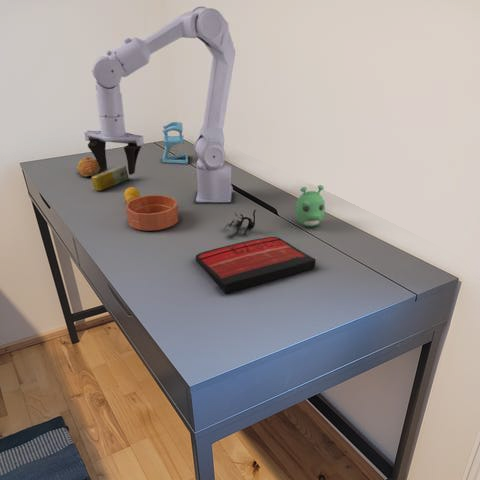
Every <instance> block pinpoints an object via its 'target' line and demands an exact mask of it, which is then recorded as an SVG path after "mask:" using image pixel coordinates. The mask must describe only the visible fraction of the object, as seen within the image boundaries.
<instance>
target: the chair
mask: <svg viewBox="0 0 480 480" xmlns="http://www.w3.org/2000/svg"><path fill="white" fill-rule="evenodd" d="M162 128H163V129H162V133H163V135H164V136H163V145H164V146H165V147H164V151H163V155H162V163H165V164H167V163H168V164H169V163H171V164H183V165H184V164H185V165H188V164H189V155H188V153H181V154H175V155H169V154H170V151H171V149H172V147H174V146H177V145H184V144H185V137H184V135H183V123H182V122H180V121H171V122H170V123H168V124H166V125H163V126H162ZM172 131H175V132H178V135H173V136H172V135H169V134H168V132H172ZM182 158H185V159H182Z"/></svg>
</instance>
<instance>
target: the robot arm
mask: <svg viewBox="0 0 480 480" xmlns="http://www.w3.org/2000/svg"><path fill="white" fill-rule="evenodd" d="M182 38H186V39H198V40H200V41H201V42H202V43H203V44H204V45H205V47H206V49H207V50H208V51H209V53H210V54H211V56H212V60H211V66H210V67H211V68H210V74H209V82H208V87H207V95H206V103H205V110H204V115H203V123H202V125H201V127H200V129H199V132H198V133H199V134H198V137H197V139H195V142H194V145H193V151H194V153H195V155H196V156H197V157H198V159H197V162H196V178H197V179H196V180H197V181H196V182H197V194H196V198H195V203H231V202H232V195H233V192H234V191H233V189H234V188H233V185H232V165H231V164H225V163H224V162H225V160H226V151H225V135H224V126H225V125H224V124H225V118H226V112H227V107H228V101H229V100H228V99H229V94H230V87H231V82H232V76H233V69H234V63H235V57H236V49H235V46H234V42H233V39H232V37H231V32H230V28H229V22H228V21H227V20H226V19H225V17H224V16H223V14H222V13H221V12H220V11H219V10H218V9H216V8H212V7H205V6H197V7H195V8H193V9H192V10H189V11H186V12H183V13H182V14H180V15H178V16H176V17H175V18H173V19H172V20H171V21H169V22H168V23H166V24H165V25H163V26H161V27H160V28H159V29H157V30H156V31H154V32H152V33H151V34H150V35H148V36H147V37H145V38H144V39H141V38H138V37H132V38H130V37H128V36H127V37H126V38H124V39H123V41H124V43H123V44H121V45H119V46H118V47H116V48H115V49H112V51H111V50H110V49H108V50H106V51H105V54H106V56H104V55H103V56H100V57H98V58H96V59H95V60H94V62H93V64H92V69H91V72H92V73H91V74H92V75H93V77H94V78H95V91H96V95H95V97H96V103H97V104H96V105H97V112H98V118H99V119H98V120H99V124H100V125H99V126H100V130H86V131H84V132H83V133H84V140H85V141H88V143H87V148H88V149H89V150H90V151H91V153H92V155H93V157H94V158H95V160H97V162H98V165H99V167H100V169H99V171H100V172H101V173H103V172H105V171H107V170H108V163H107V155H106V148H107V147H106V146H107V145H106V144H107V143H115V144H126V145H125V146H124V147H123V151H124V153H125V157H126V162H127V173H128V176H132V175H133V174H135V173H136V164H137V160H138V157H139V156H138V155H139V153H140V150H141V148H142V146H143V145H144V144H145V141H144V135H139V134H134V133H130V132H126V124H125V115H124V114H125V113H124V106H123V105H124V104H123V95H122V93H121V85H120V83H121V80H122V78H127V77H128V76H131V75H132V74H133V73H135V72H136V71H139V70H140V69H141V68H143V67H145V66H146V65H148V64H149V63H150V58H151V55H152V54H154V53H155V52H158V51H159V50H162V48H165V47H167V46H169V45H170V44H172V43H174V42H176V41H177V40H179V39H182Z"/></svg>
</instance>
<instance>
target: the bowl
mask: <svg viewBox="0 0 480 480" xmlns="http://www.w3.org/2000/svg"><path fill="white" fill-rule="evenodd" d="M178 206H179V204H178V201H177V199H175V198H173V197H172V196H168V195H164V194H146V195H142V196H141V195H140V197H137V198H135V199H132V200H131V201H129V202H128V203H127V202H126V204H125V213H126V219H127V223H128V225H129V226H130V227H131V228H133V229H136V230H139V231H147V232H149V231H160V230H164V229H168V228H170V227H173V226H174V225H175V224H177V223H178V222H179V218H180V216H179V207H178Z"/></svg>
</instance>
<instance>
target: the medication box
mask: <svg viewBox="0 0 480 480" xmlns="http://www.w3.org/2000/svg"><path fill="white" fill-rule="evenodd" d="M128 180H130V178H129V173H128V169H127V166H126V165H118V166H116V167H113V168H111V169H107V170H105V171H103V172H99V173H97V174H96V175H92V176H91V181H92V185H93V190H94V191H103V190H106V189H108V188H111V187H113V186H116V185H118V184H120V183H123V182H125V181H128Z"/></svg>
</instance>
